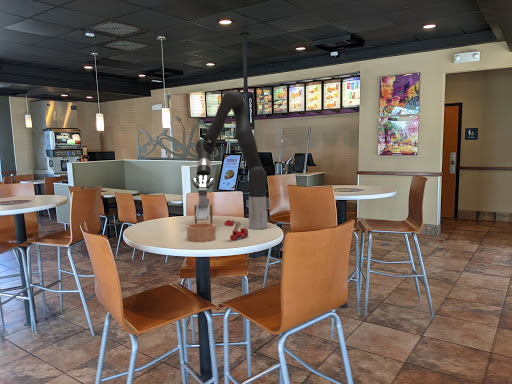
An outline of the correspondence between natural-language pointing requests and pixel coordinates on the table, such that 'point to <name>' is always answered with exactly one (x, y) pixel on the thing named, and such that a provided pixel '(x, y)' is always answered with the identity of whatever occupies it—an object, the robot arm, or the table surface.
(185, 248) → the table surface
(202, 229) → the terracotta shallow bowl
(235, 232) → the toy fire truck
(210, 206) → the catapult stand
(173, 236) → the table surface
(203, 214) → the grey angular piece
